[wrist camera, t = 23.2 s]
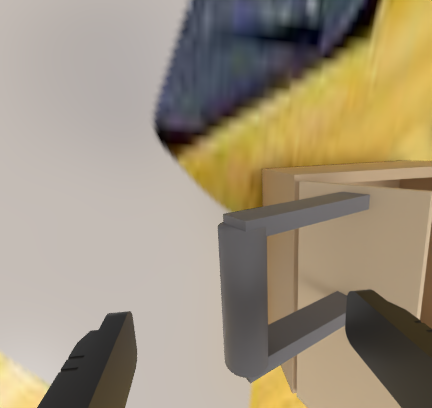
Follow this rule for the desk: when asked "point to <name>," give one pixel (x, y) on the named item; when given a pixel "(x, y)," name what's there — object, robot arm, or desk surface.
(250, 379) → the flap
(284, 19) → the desk surface
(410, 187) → the carton
